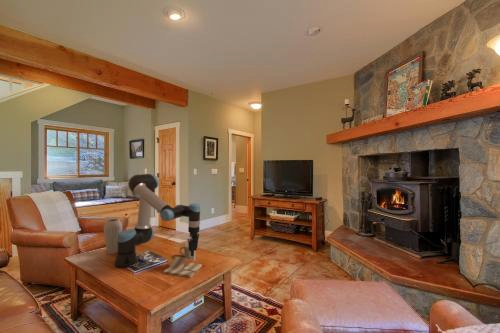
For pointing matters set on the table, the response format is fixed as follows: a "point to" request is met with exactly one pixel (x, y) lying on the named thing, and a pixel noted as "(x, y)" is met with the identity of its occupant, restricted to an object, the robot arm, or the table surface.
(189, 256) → the mug
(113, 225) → the vase
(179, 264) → the plank
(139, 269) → the table surface
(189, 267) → the plank
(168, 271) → the laid row
